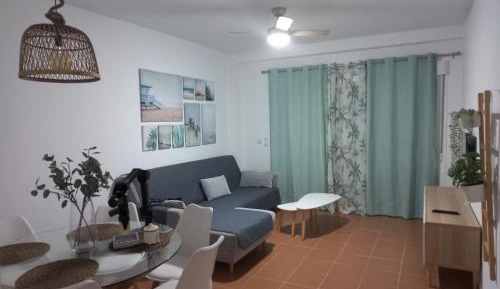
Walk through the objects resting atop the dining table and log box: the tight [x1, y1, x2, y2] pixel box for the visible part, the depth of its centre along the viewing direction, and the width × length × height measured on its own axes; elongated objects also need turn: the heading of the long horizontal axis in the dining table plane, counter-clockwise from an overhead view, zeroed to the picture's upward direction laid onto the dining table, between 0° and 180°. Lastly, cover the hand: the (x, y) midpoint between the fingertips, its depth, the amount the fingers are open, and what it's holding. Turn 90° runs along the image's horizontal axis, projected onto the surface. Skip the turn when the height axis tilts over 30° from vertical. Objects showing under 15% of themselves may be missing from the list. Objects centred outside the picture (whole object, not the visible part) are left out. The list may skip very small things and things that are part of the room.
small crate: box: [118, 219, 132, 234], centre depth 201 cm, size 6×6×6 cm
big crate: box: [112, 231, 140, 248], centre depth 202 cm, size 14×14×4 cm
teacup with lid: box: [142, 223, 160, 244], centre depth 203 cm, size 12×9×12 cm
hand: (125, 228), depth 201 cm, fingers closed on small crate, 6 cm apart
